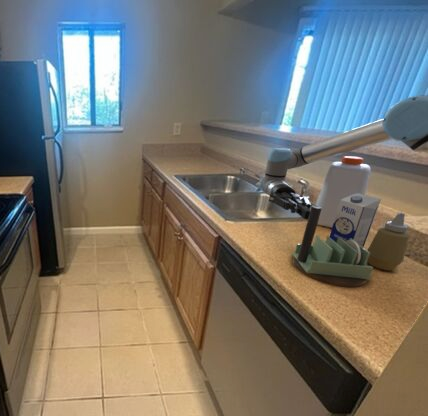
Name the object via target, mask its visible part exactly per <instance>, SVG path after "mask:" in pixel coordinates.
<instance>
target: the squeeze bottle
mask: <svg viewBox="0 0 428 416" xmlns="http://www.w3.org/2000/svg"><path fill="white" fill-rule="evenodd" d="M405 214H406V213H405V212H402V211H399V212H398V213H397V214H396V215H395V217H394V218H393V219H392V220H390V221H386V222H385V224H384V227H383V226H382V227H380V228H378V230H377V232H376V234H375V236H374V237H373V239H372V241H371V243H370V244H369V246H368V248H367V249H366V250H367V251H369V252H370V255H369V258H368V260H367V263H368V265H369V266H372V267H373V268H376V269H379V270H383V271H394V270H395V269H396V268H397V267H399V265H401V263H403V262H404V258H405V255H406V251H407V248H408V244H409V239H410V234H409V233H408V229H409V225H408V224H405Z"/></svg>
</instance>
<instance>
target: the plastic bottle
mask: <svg viewBox="0 0 428 416" xmlns="http://www.w3.org/2000/svg"><path fill="white" fill-rule="evenodd" d="M363 161H364V158H363V157H360V156H352V155H346V156H345V155H344V156H343V157H342V158H341V161H333V162H332V163H331V164H330V166H329V167H328V170H327V173H326V176H325V178H324V181H323V184H322V187H321V189H320V192H319V194H318V197H317V200H316V203H315V205H314V206H319V207H321V208H322V209H321V213H320V216H319V220H318V223H317V226H320V227H325V228H330V229H332V226H333V223H334V220H335V217H336V214H337V210H338V207H339V204H340V201H341V199H343V198H346V197H348V196H350V195H352V194H356V193H360V194H363V195H366V194H367V189H368V185H369V182H370V177H371V172H372V170H371V169H372V168H371V166H370V165H369V164H366V163H363Z"/></svg>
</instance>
